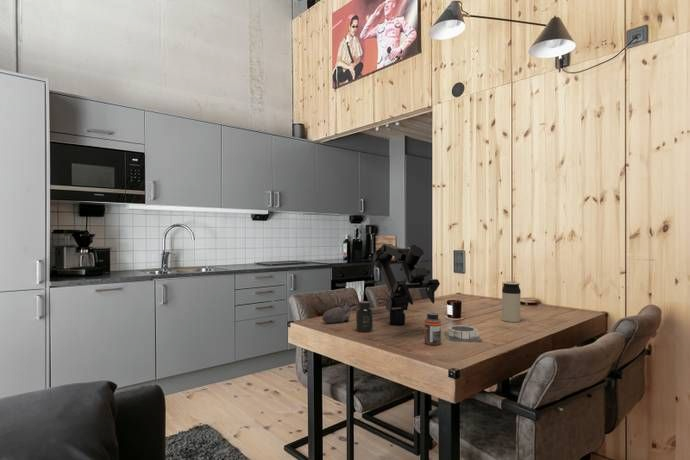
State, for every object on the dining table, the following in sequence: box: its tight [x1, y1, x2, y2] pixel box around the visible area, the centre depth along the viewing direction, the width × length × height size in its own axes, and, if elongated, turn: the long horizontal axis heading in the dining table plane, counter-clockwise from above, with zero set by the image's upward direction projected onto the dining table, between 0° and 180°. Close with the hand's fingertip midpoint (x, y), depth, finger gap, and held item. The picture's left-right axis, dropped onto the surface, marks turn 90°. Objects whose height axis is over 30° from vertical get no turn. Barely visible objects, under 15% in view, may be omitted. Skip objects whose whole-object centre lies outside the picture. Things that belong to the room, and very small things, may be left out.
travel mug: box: [501, 280, 522, 323], centre depth 193 cm, size 8×8×18 cm
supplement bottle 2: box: [424, 311, 442, 346], centre depth 153 cm, size 6×6×11 cm
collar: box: [444, 324, 483, 343], centre depth 162 cm, size 12×12×3 cm
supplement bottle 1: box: [355, 300, 374, 333], centre depth 173 cm, size 7×7×12 cm
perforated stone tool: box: [321, 305, 351, 324], centre depth 188 cm, size 15×5×7 cm, turn 120°
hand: (423, 303), depth 161 cm, fingers open, 9 cm apart
